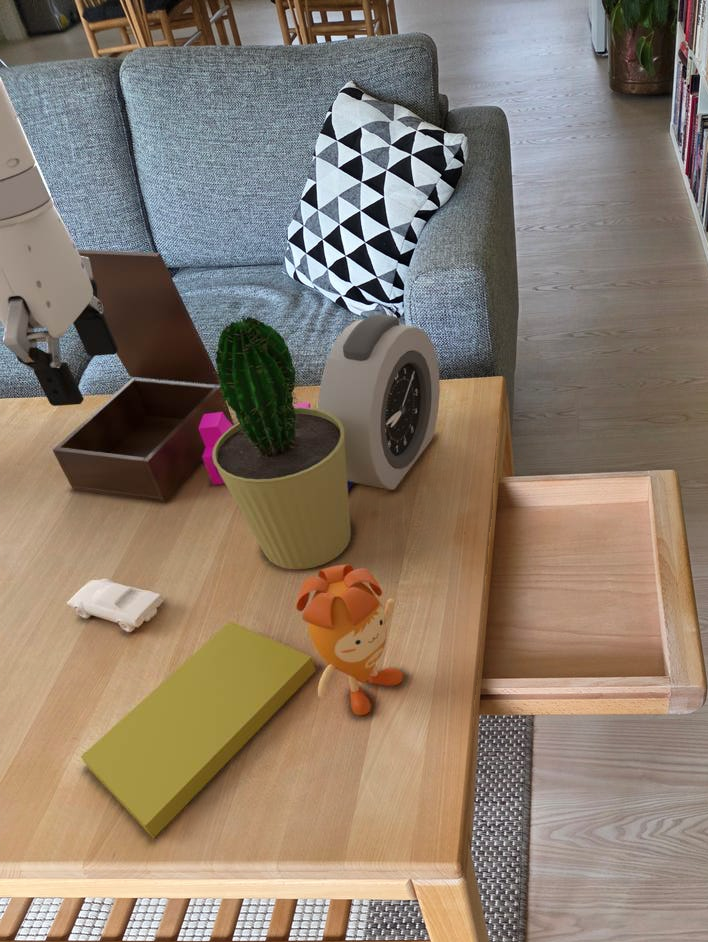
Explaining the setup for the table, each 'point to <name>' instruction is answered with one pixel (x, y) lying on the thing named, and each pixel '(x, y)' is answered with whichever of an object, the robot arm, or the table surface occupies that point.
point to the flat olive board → (195, 723)
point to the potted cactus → (280, 451)
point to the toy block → (211, 432)
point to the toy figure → (348, 628)
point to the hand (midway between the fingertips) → (86, 377)
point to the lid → (149, 318)
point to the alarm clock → (382, 397)
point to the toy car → (116, 603)
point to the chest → (141, 440)
